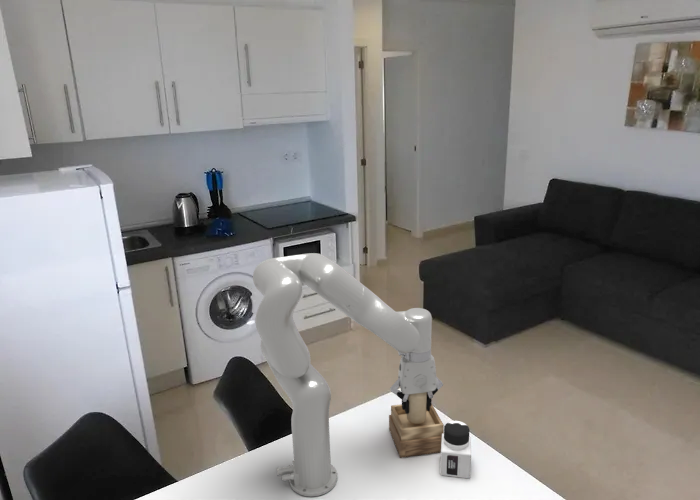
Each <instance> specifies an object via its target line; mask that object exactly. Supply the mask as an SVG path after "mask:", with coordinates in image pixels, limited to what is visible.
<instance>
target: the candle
mask: <svg viewBox="0 0 700 500" xmlns="http://www.w3.org/2000/svg"><path fill="white" fill-rule="evenodd" d="M407 400H408V401H409V413H408V414H407V419H408V421H409V422H411V423H414V424H420V423H423V422H425V420H426V403H427V392H425V393H417V394H409V396H408V399H407Z"/></svg>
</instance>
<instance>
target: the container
mask: <svg viewBox="0 0 700 500" xmlns="http://www.w3.org/2000/svg"><path fill="white" fill-rule="evenodd" d="M470 431H471V430H470V427H469V425H468V424H466V423H465V422H463V421H459V420H449V422H447V423H445V425H444V432H443V434H442V440H441V452H440V465H439V466H440V467H439V472H440V473H439V474H440V476H445V477H453V478H460V479H461V478H462V479H470V478H471V470H472V469H471V468H472V437H471V435H470Z"/></svg>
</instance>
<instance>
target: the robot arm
mask: <svg viewBox="0 0 700 500" xmlns="http://www.w3.org/2000/svg"><path fill="white" fill-rule="evenodd" d="M252 280H253V284H254V287H255V288H256V289H257V290H258V291H259V293H260V294H261V295H263V298H262V300H261V301H260V303H259V305H258V308H257V311H256V313H255V319H254V320H255V321H254V322H255V329H256V331H257V333H258V335H259V337H260V339H261V340H260V350H261V353H262V355H263V357H264V359H265V361H266V363H267V364H268V366H269V368H270V370H271V371H272V374H273V375H274V378H275V379H276V381H277V383H278V384H279V386H280V387H281V388H282V390H283V391H284V393H285V394H286V396H287V397H288V398H289V399H290V401H291V402H290V403H291V404H292V414H291V419H290V421H291V435H292V437H291V438H292V439H291V440H292V449H293V452H292V454H293V460H292V464H289V465H288V466H286V467H284V466H281V467H277V468H276V471H277V472H276V473H277V477H278V476H279V477H280V476H281V479H282V482H284V481H285V482H286V481H289V486H290V488H291V489H292V490H293V491H294V492H295V493H297V494H298V495H301V496H305V497H318V496H323V495H324V494H327V493H329V492H330V491H332V490H333V488H334V487H335V486H336V484H337V482H338V472H337V469H336V468H335V466H334V465H333V464H331V463H332V462H331V458H332V457H331V441H330V440H331V439H330V418H329V417H330V405H331V401H332V399H331V398H332V397H331V396H332V392H331V388H330V386H329V384H328V381H327V380H326V379H325V377H324V376H323V375H322V374H321V373H320V372H319V371H318V369H316V368H315V367H314V366H313V364H311V353H310V350H309V347H308V346H307V344H306V343H305V341H304V339H303V337H302V336H301V334H300V332H299V330H298V328H297V325H296V322H295V320H294V312H295V309H296V308H297V306H298V304H299V302H300V300H301V298H302V293H303V286H307V287H308V288H309V289H311V290H313V292H314V293H316V294H317V295H318V296H320V297H321V298H323V299H324V300H325V301H327V302H328V303H330V304H331V305H332V306H333V307H335V308H336V309H338V311H340V312H342V313H343V314H344V315H346V316H347V317H348V318H350V319H351V320H352V321H354V322H355V323H357V324H358V325H360V326H362V327H363V328H365V329H366V330H368V331H369V332H371V333H373V335H376V336H377V337H378V338H380V340H382V341H384V342H385V343H386V344H388V345H389V346H391V347H392V348H393V349H395V351H397V354H398V356H400V361H399V367H398V374H397V375H398V376H397V377H398V378H397V380H396V381H395V382H394V383H393V384H392V385H391V387H390V388H389V390H390V391H391V393H393V394H394V395H395V396H397V397H398V398H399V399H400V400H401V404H402V409H403V410H405V412H406V414H408V413H409V401H408V400H407V399H408V396H409V394H417V393H425V392H427V403H426V410H427V411H430V406H431V403H432V401H433V398H434V395H436V393H437V392H439V390H440V389H441V388H442V387H443V386H444V383H443V382H442V380H440V378H439V377H437V369H436V368H437V367H436V361H435V357H434V355H432V330H433V328H432V325H433V324H432V323H433V322H432V320H433V318H432V314H431V312H430V311H429V310H427V309H425V308H422V307H414V308H413V307H411V308H409V309H407V310H403V311H400V310H399V311H396V310H394V308H392V307H391V306H389V305H388V304H387V303H386V302H384V300H382V299H381V298H380V297H379V296H378V295H377V294H375V293H374V292H373V291H372V290H371V289H369V288H368V287H367V286H366V285H364V284H363V283H361V281H360V280H358V279H356V277H354V276H353V275H352V274H350V273H349V272H348V271H347V270H345V269H344V268H343V267H342V266H340V265H339V264H338V263H337V262H335V261H333V260H331V259H330V258H328V257H327V256H325V255H323V254H321V253H319V252H318V253H315V252H313V253H312V252H311V253H310V252H309V253H302V254H292V255H287V256H278V257H272V258H271V257H270V258H267V259H265V260H263V261H261V262H260V263H258V265H256V266H255V268H254V270H253V273H252ZM399 388H400V389H399Z"/></svg>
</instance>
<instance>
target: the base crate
mask: <svg viewBox="0 0 700 500" xmlns="http://www.w3.org/2000/svg"><path fill="white" fill-rule="evenodd" d="M388 430H389V432H390V436H391V438H392V440H393V443H394V446H395V448H396V451H397V454H398V457H399V459H403V458H409V457H418V456H424V455H431V454H439V453H440V454H441V440H442V436H438V437H431V438H423V439H416V440H409V441H401V439H400V436H399V434H398V431H397V429H396V427H395V424H394V422H393V419H392V417H391V414H388Z"/></svg>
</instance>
